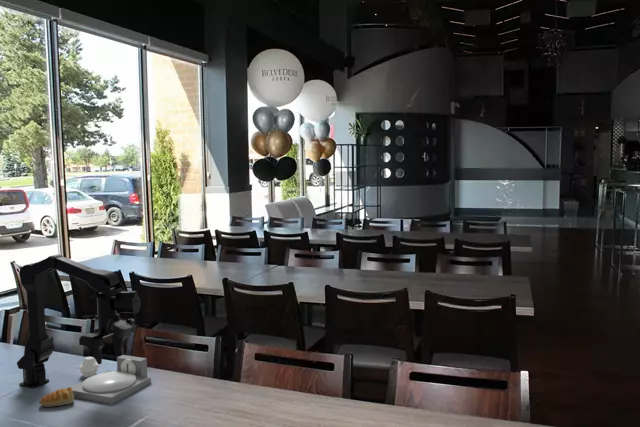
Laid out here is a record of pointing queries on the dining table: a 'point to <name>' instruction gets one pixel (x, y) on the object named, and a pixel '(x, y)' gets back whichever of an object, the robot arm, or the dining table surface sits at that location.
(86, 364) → the garlic bulb
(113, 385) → the scale
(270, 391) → the dining table surface
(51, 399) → the pastry
